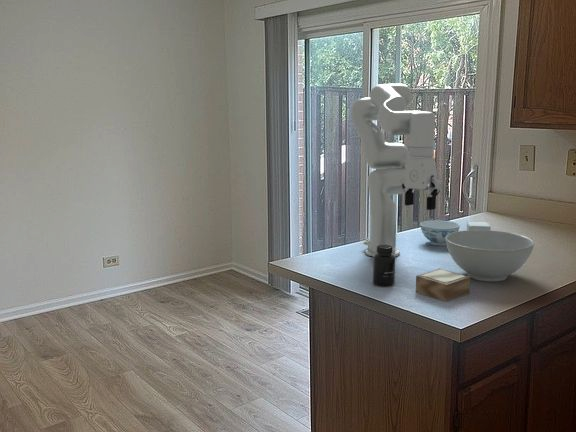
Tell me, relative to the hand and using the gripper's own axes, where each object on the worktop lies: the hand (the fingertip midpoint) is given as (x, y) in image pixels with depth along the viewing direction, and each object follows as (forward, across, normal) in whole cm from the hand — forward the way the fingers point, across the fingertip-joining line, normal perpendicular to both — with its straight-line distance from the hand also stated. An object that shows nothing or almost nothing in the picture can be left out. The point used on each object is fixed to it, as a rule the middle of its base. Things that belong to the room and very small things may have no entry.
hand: (419, 207), depth 180 cm
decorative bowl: (+23, +10, +20) cm, 32 cm away
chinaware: (+23, -28, +37) cm, 52 cm away
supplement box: (+23, -5, +33) cm, 41 cm away
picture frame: (+23, +14, -4) cm, 28 cm away
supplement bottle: (+23, -2, -13) cm, 27 cm away
